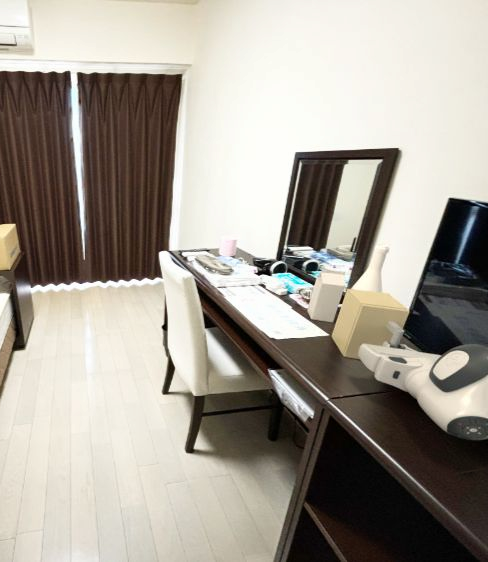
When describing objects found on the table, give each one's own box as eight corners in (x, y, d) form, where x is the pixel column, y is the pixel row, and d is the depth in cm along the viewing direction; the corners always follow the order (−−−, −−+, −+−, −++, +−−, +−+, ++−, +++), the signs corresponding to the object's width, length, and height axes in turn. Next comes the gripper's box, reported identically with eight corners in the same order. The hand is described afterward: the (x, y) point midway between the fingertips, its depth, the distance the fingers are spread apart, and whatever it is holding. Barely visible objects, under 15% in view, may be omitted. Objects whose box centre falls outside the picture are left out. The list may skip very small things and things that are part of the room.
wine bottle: (354, 317, 117) (381, 241, 106) (377, 330, 109) (410, 249, 97) (333, 318, 116) (358, 242, 104) (355, 332, 107) (385, 250, 96)
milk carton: (332, 323, 113) (348, 275, 106) (311, 319, 115) (325, 272, 108) (327, 314, 119) (341, 268, 112) (306, 311, 121) (319, 266, 114)
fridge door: (396, 375, 86) (421, 320, 79) (350, 367, 89) (371, 313, 82) (385, 362, 91) (407, 309, 84) (343, 355, 94) (361, 303, 88)
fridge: (384, 362, 91) (407, 309, 85) (342, 354, 95) (361, 303, 88) (369, 342, 101) (388, 293, 94) (331, 336, 104) (347, 288, 97)
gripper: (486, 375, 68) (444, 342, 80) (377, 357, 73) (354, 329, 85) (473, 397, 70) (434, 362, 82) (368, 378, 76) (347, 348, 88)
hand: (393, 345), depth 84 cm, fingers closed
